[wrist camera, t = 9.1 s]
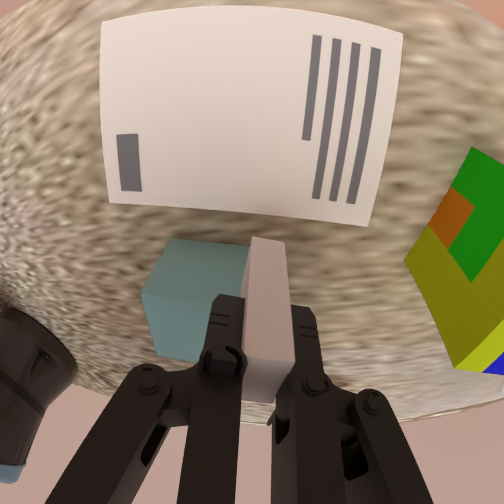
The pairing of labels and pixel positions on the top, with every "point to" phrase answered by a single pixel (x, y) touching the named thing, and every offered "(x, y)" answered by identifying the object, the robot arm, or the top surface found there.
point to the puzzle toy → (467, 266)
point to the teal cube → (189, 293)
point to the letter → (248, 110)
